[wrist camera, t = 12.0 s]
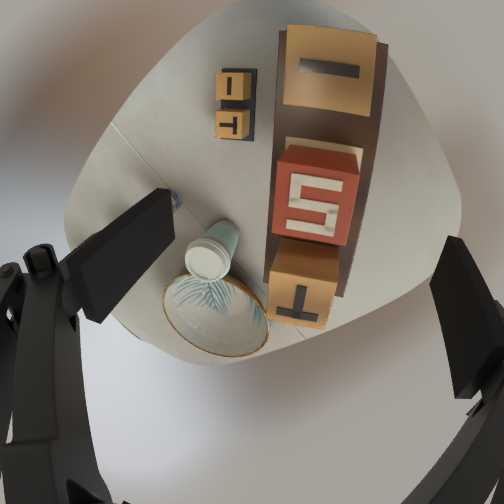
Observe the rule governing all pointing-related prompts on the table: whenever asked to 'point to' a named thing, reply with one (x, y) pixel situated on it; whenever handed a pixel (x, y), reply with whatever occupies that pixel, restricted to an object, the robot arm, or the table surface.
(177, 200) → the pill bottle
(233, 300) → the bowl
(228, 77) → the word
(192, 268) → the coffee cup
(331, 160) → the block
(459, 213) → the table surface
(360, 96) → the word stand
